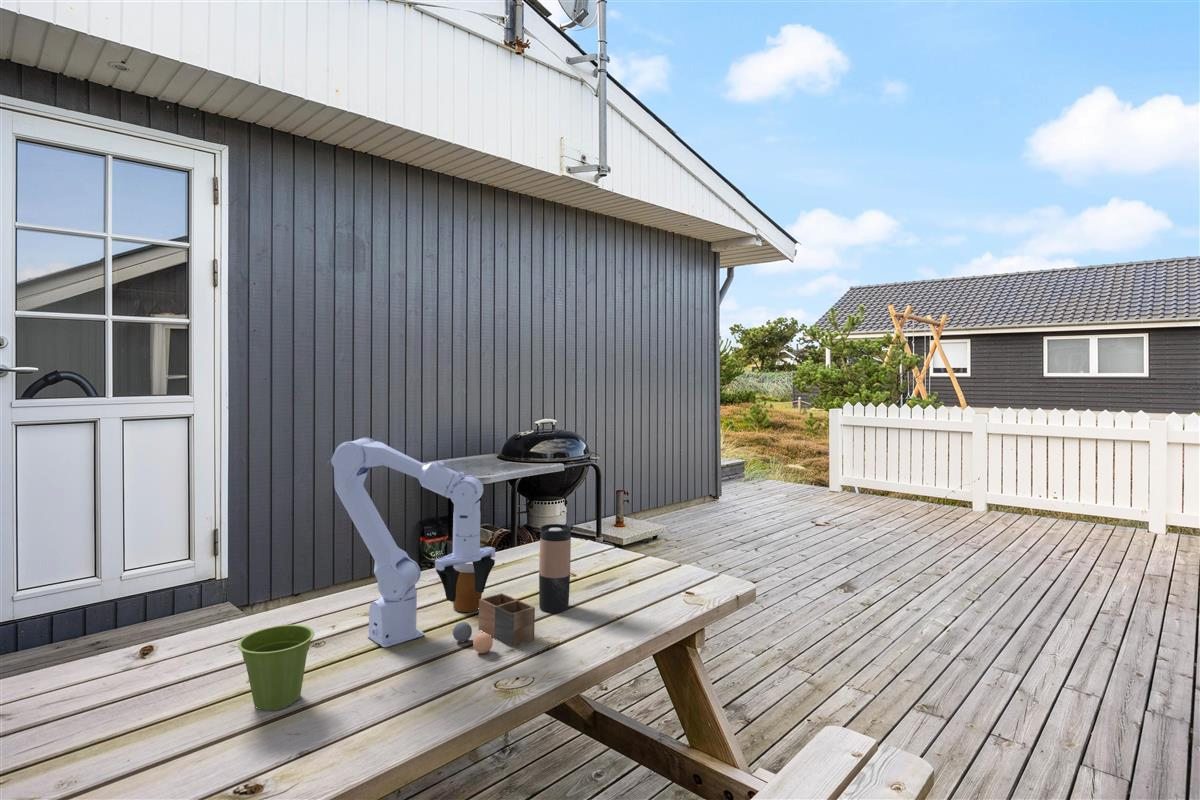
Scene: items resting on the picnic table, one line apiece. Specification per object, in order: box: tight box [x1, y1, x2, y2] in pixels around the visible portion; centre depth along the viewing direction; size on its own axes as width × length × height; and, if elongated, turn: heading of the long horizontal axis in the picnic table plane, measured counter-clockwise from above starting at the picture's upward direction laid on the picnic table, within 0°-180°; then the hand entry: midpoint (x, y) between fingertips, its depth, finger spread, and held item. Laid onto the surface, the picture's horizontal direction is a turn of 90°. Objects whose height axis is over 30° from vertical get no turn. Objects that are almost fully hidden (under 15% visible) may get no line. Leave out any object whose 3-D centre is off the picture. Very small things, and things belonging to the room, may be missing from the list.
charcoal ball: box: [452, 621, 473, 643], centre depth 139 cm, size 4×4×4 cm
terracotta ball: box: [472, 632, 494, 654], centre depth 133 cm, size 4×4×4 cm
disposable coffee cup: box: [452, 562, 483, 613], centre depth 158 cm, size 10×10×12 cm
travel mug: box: [538, 523, 572, 614], centre depth 159 cm, size 8×8×20 cm
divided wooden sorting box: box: [478, 593, 536, 648], centre depth 143 cm, size 6×12×7 cm, turn 46°
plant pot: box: [237, 624, 315, 711], centre depth 112 cm, size 12×12×11 cm
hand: (465, 595), depth 140 cm, fingers open, 7 cm apart
